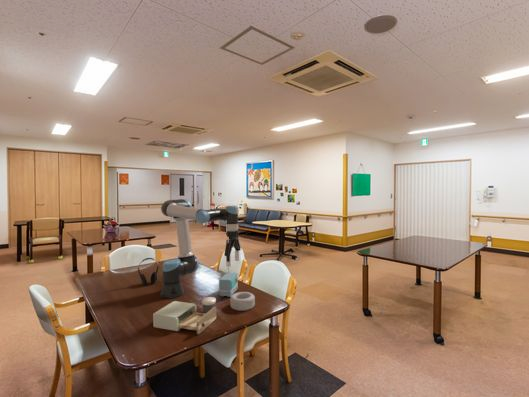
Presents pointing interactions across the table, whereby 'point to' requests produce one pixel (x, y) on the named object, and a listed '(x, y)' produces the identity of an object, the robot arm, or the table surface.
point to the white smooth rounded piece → (209, 301)
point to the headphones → (153, 276)
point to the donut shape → (242, 301)
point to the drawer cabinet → (172, 315)
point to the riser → (207, 308)
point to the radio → (228, 284)
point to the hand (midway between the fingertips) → (233, 263)
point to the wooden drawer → (198, 320)
